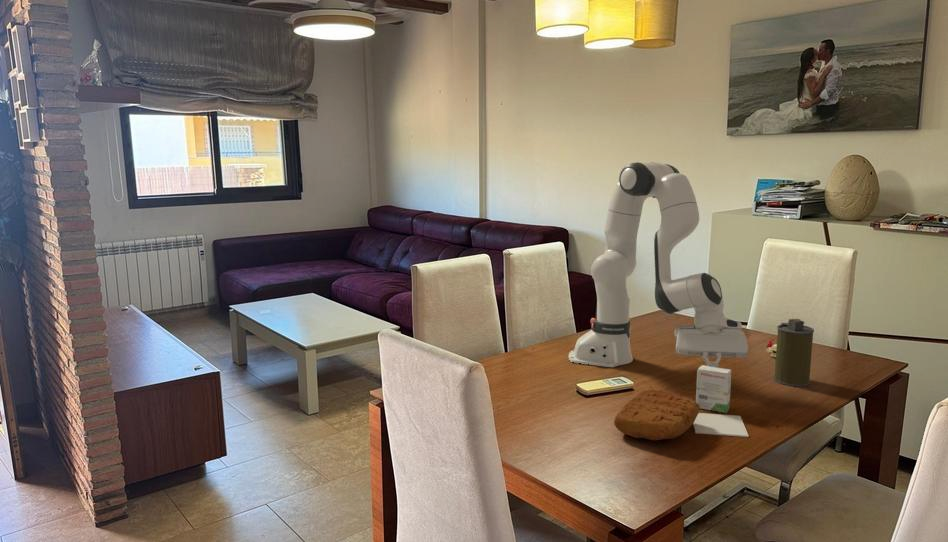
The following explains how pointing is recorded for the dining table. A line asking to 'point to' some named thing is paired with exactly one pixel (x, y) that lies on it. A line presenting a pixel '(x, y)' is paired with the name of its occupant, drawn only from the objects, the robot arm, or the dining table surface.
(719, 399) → the ink box
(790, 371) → the canister
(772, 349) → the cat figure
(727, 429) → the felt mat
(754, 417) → the dining table surface
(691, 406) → the cuneiform tablet
